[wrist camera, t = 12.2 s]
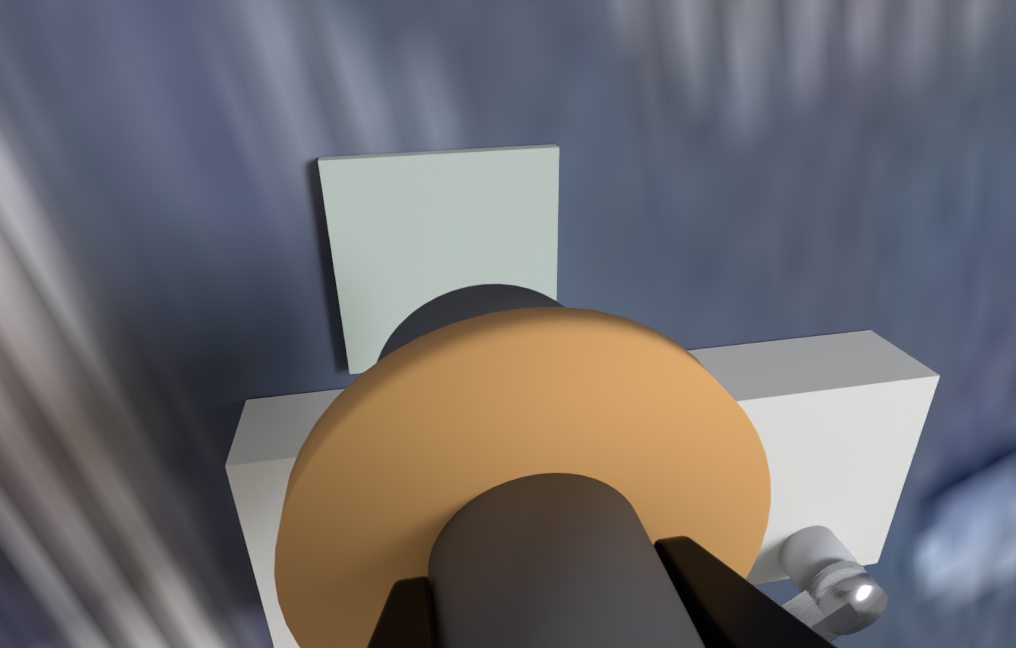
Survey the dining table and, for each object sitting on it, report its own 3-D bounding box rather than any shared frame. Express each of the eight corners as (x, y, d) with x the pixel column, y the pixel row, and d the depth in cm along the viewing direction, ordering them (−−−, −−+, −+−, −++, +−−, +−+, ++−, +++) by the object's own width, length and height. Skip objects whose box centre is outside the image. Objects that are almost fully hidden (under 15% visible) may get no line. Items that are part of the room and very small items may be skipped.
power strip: (870, 329, 21) (973, 397, 18) (824, 503, 25) (902, 590, 21) (246, 399, 18) (214, 499, 15) (291, 587, 22) (274, 707, 18)
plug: (666, 209, 11) (1188, 570, 4) (638, 498, 14) (912, 1009, 7) (277, 236, 10) (41, 788, 3) (334, 542, 13) (283, 1193, 6)
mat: (555, 144, 17) (559, 147, 16) (552, 345, 19) (555, 351, 19) (319, 157, 16) (318, 160, 15) (350, 367, 18) (349, 374, 18)
